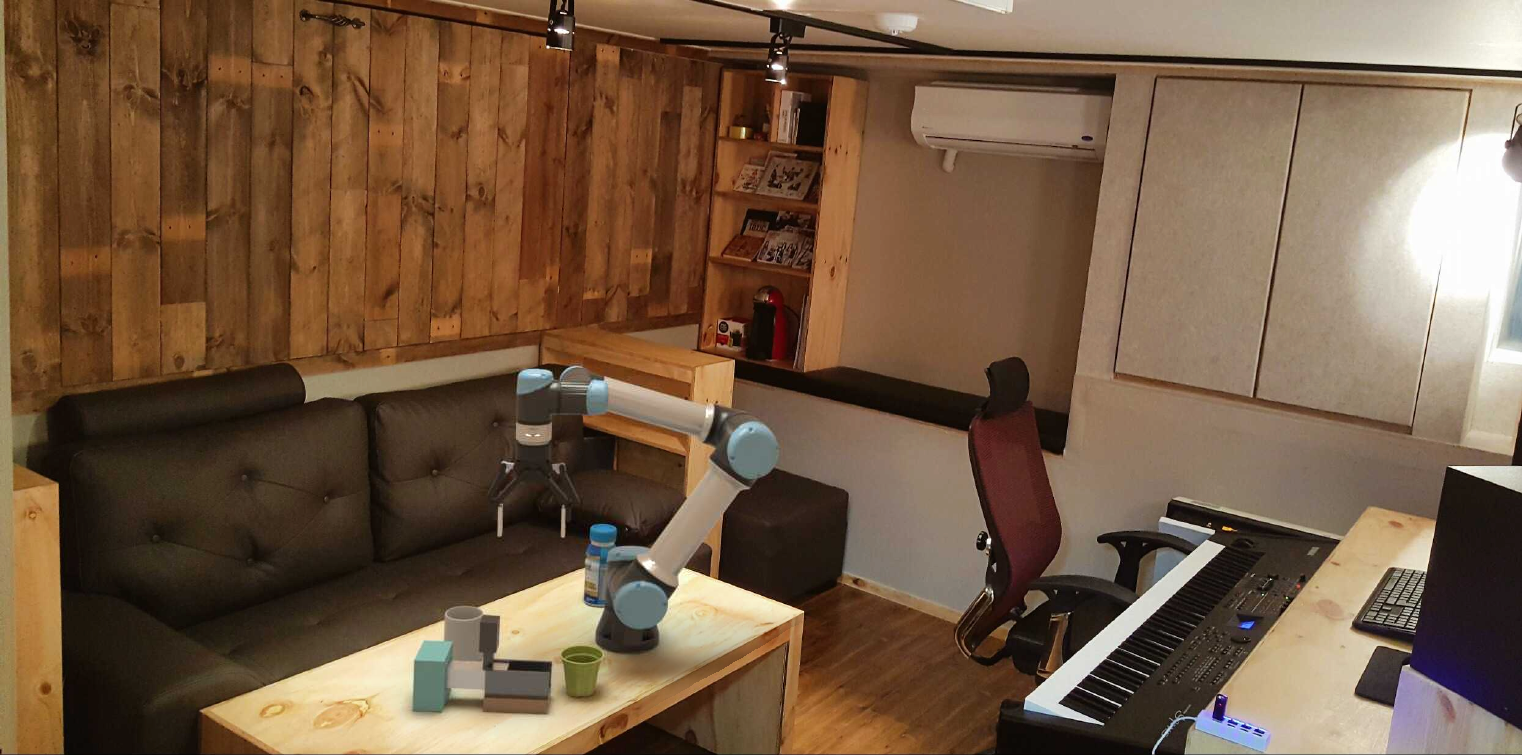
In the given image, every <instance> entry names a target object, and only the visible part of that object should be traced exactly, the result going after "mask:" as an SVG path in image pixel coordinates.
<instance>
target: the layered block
mask: <svg viewBox="0 0 1522 755" xmlns="http://www.w3.org/2000/svg"><path fill="white" fill-rule="evenodd" d="M494 662H500V663H509V670H487V669H486V670H485V690H484V692H483V693H484V694H483V700H482V702H483V704H482V707H483V708H482V712H489V713H490V712H492V713H513V714H515V713H516V714H517V713H518V714H535V715H537V714H538V715H547V714H548V711H549V706H550V701H551V697H552V695H551V694H552V669H553V661H552V660H534V659H533V660H532V659H531V660H530V659H513V658H509V659H507V658H494Z"/></svg>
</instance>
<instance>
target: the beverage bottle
mask: <svg viewBox="0 0 1522 755" xmlns="http://www.w3.org/2000/svg"><path fill="white" fill-rule="evenodd" d="M617 534H618V530H617V527H616V526H614V525H611V524H607V523H606V524H605V523H604V524H603V523H599V524H593V525H592V526H591V527H590V530H589V540H590V541H591V542H590V543H589V544H588V547H587V548H586V551H585V555H586V558H585V560H584V567H585V568H584V570H585V571H584V588H583V589H584V590H583V602H584V603H585V604H586V605H587V606H591V607H597V608H604V607H605V589H606V573H607V562H606V560H607V557H608V552H609V551H610V550H611V549H613V548H615V547H617V546H616V544H615V542H616V540H617Z"/></svg>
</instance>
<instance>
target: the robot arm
mask: <svg viewBox="0 0 1522 755" xmlns="http://www.w3.org/2000/svg"><path fill="white" fill-rule="evenodd" d="M607 412H608V413H612V414H616V415H620V416H623V417H626V418H630V419H633V420H635V421H636V420H637V421H640V422H644V423H648V424H651V425H654V426H658V427H661V428H664V429H668V430H672V431H674V432H678V433H682V434H685V435H689V436H693V437H696V438H697V441H698V442H699V443H701V444H705V445H707V446H711V447H712V448H714V450H713V451H712V452H711V454H710V455H709V456H708V469H707V471H706V472H705V473H704V475H703V476H702V478H701V479H700V481H698V483H697V484H696V486H695V487H694V489H693V490H692V491H691V493H690V494H689V496H687V498H686V499H685V500H684V502H683V504H682V505H681V507H680V508H679V509H678V510H677V511H676V513H675V514H674V516H673V517H672V518H671V520H670V521H669V523H668V524H667V525H666V527H665V529H663V531H662V532H661V534H660V535H659V536H658V537H657V539H656V541H655V542H654V543H653V544H652V546H651V548H649V547H645V546H639V545H637V546H636V545H623V546H616V547H615V548H613V549H611V550H610V551H609V552H608V557H607V560H606V562H607V573H606V589H605V607H603V608H604V609H603V612H602V613H601V617H600V619H599V621H598V624H597V626H596V629H595V635H594V642H595V643H596V645H597V646H599V647H600V648H601V649H604V650H607V651H609V652H614V653H620V654H638V653H645V652H648V651H650V650H653V649H655V648H656V647H657V646H658V645H659V640H660V638H659V637H660V632H659V627H658V624H659V623H660V622H661V621H663V619H664V617H665V616H666V614H667V612H668V608H669V600H670V598H671V597H672V595H673V594H674V593H675V592H676V590H677V589H678V587H679V586H680V583H679V575H680V574H681V572H682V571H683V569H684V568H685V567H686V565H687V563H689V561H690V559H691V558H692V557H693V555H694V554H695V553H696V551H697V550H698V549H699V547H700V546H701V545H702V543H703V542H704V541H705V539H706V537H707V536H708V535H709V533H710V532H711V531H712V529H713V528H714V527H715V525H717V522H719V520H720V518H721V517H722V516H723V514H724V513H725V512H726V510H727V509H728V507H729V506H730V505H731V504H732V502H733V501H734V499H735V498H736V497H737V496H738V494H739V493H740V492H741V491H743V490H750V488H752V486H753V485H754V484H755V482H756V481H757V479H760V478H762V477H763V478H764V477H765V476H766V475H768V474H769V473H770V472H771V471H772V470H773V469H774V468H775V466H776V464H777V462H778V459H779V454H780V452H779V450H780V449H779V443H778V441H777V438H776V436H775V434H774V432H773V431H772V430H771V428H769V427H768V426H767V424H765V423H764V422H763V421H762V420H761V419H760V418H759V417H758V416H756V415H755V414H753V413H751V412H748V411H745V410H740V409H736V408H731V407H729V406H724V405H720V404H716V403H713V402H710V403H708V404H706V405H704V404H701V403H699V402H693V401H690V400H687V399H684V398H681V397H677V396H673V395H671V394H667V393H664V392H663V393H662V392H659V391H656V390H653V389H649V388H645V387H642V386H638V385H635V384H632V383H628V382H626V381H621V380H619V379H614V378H611V377H608V376H603V375H600V374H597V373H594V372H590V371H589V370H588V369H587V368H584V367H583V366H578V365H573V366H570V367H568V368H566V369H565V370H564V371H563V372H562V373H561V375H560V377H559V379H558V380H557V379H555V378H554V374H553V371H550V370H548V369H540V368H529V369H524V370H521V371H520V372H519V374H518V375H517V384H516V421H515V422H516V423H515V426H516V427H515V429H516V430H515V439H516V440H517V441H516V443H515V460H514V462H508V461H507V460H502V461H501V464H500V467H499V473H498V474H497V476H496V477H495V479H494V482H493V483H492V485H491V486H490V489H489V491H488V492H487V494H486V496H485V498H484V500H483V501H484V504H486V505H490V506H491V507H492V520H493V521H496V522H497V537H502V535H503V516H504V513H503V511H504V506H503V505H504V504H503V503H502V502H503V501H504V500H505V499H506V498H507V497H509V495H510V494H511V493H512V492H513V491H514V489H515V488H517V486H519V484H520V483H521V482H523V483H524V484H527V485H529V484H535V485H540V484H542V483H544V485H545V486H546V487H548V489H549V490H550V491H551V492H552V493H553V495H554V496H556V498H557V499H558V500H559V502H560V503H561V504H562V505H561V519H560V522H561V524H560V525H561V528H560V529H561V530H560V537H561V538H565V537H566V536H565V535H566V523H570V522H571V519H572V517H571V516H572V512H571V511H572V507H575V506H577V507H578V506H579V504H580V497H579V496H578V494H577V492H576V489H575V487H574V485H573V483H572V481H571V479H570V477H569V475H568V473H567V469H566V463H565V462H564V461H561V462H560V463H552V442H551V440H552V433H553V432H552V429H553V428H552V426H553V424H552V423H553V421H552V420H553V415H554V416H557V415H559V416H562V415H563V416H564V415H566V416H568V415H569V416H570V415H571V416H572V415H573V416H599V415H606V414H607ZM510 470H513V471H514V472H515V474H516V475H515V476H514V478H513V479H512V480H511V481H510V482H509V484H507V485H506V487H505V488H504V489H503V490H502V491H501V492H500V493H499V494H498V495H497V496H496V497H494V495H495V494H496V492H497V490H498V489H499V487H500V485H501V483H502V481H503V480H504V479H505V475H506V473H507V474H508V473H510ZM552 471H555V472H556V474H557V475H559V477H560V479H561V481H562V483H563V485H564V487H565V489H566V491H567V493H568V496H569V497H570V499H569V497H568V496H567V495H566V494H565V493H564V491H563V490H562V489H561V488H560V487H559V485H558V484H557V483H556V482H555V481H554V479H553V478H552V476H551V475H550V474H551V473H552Z"/></svg>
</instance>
